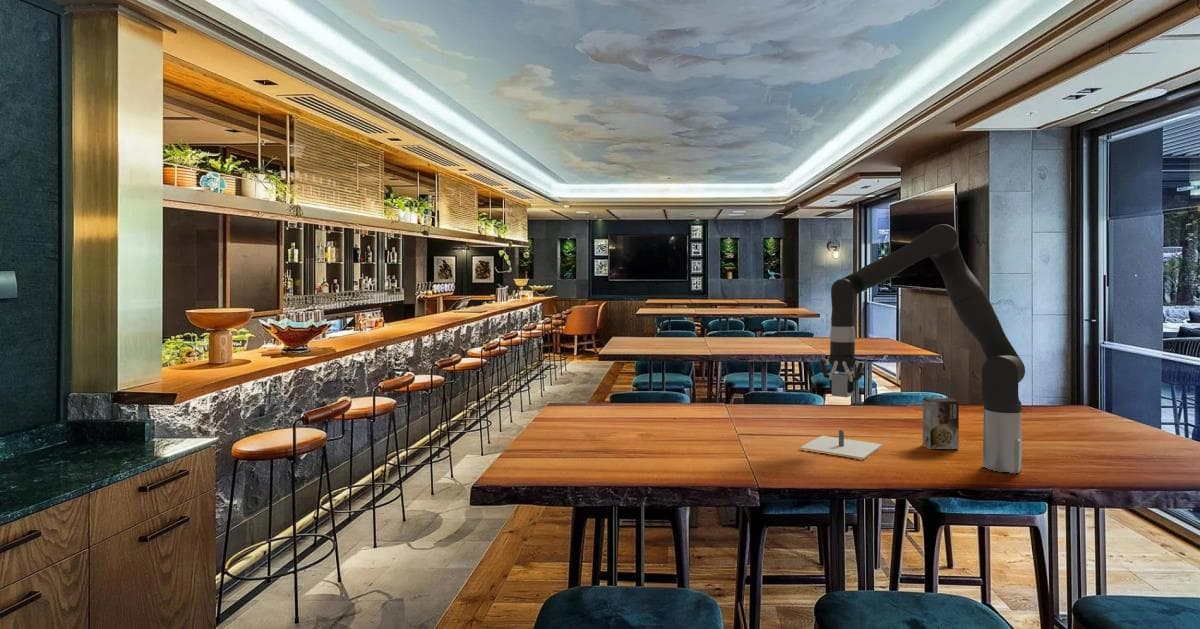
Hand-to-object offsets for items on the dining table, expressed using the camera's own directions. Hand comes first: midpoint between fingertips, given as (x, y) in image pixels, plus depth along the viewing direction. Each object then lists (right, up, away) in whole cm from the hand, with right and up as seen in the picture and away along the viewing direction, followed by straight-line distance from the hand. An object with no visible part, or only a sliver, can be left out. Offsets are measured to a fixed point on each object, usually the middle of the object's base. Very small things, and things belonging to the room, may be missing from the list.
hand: (841, 391), depth 206 cm
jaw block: (0, -1, 0) cm, 1 cm away
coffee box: (+33, -19, +1) cm, 38 cm away
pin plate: (0, -19, +1) cm, 19 cm away
